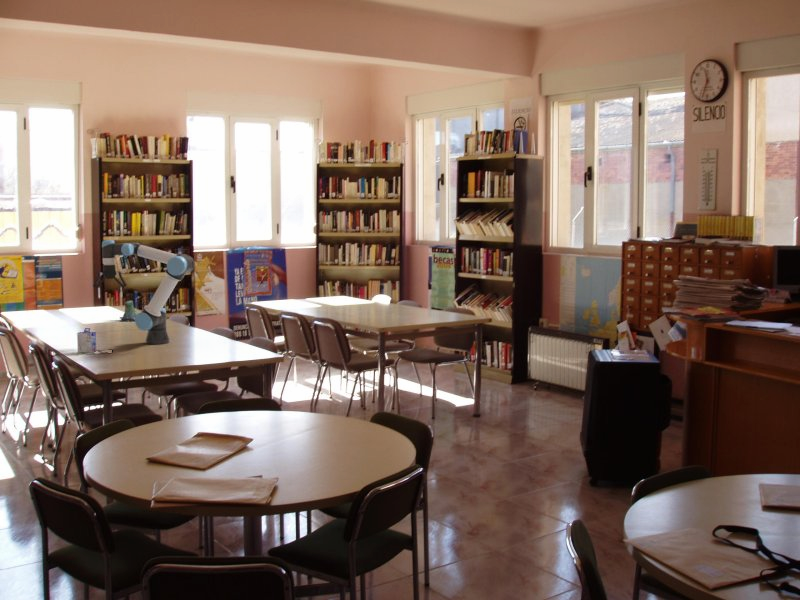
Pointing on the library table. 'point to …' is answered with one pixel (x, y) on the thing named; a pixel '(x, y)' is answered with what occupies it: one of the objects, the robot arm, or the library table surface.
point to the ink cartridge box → (86, 341)
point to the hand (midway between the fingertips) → (110, 297)
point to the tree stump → (129, 312)
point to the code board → (93, 352)
